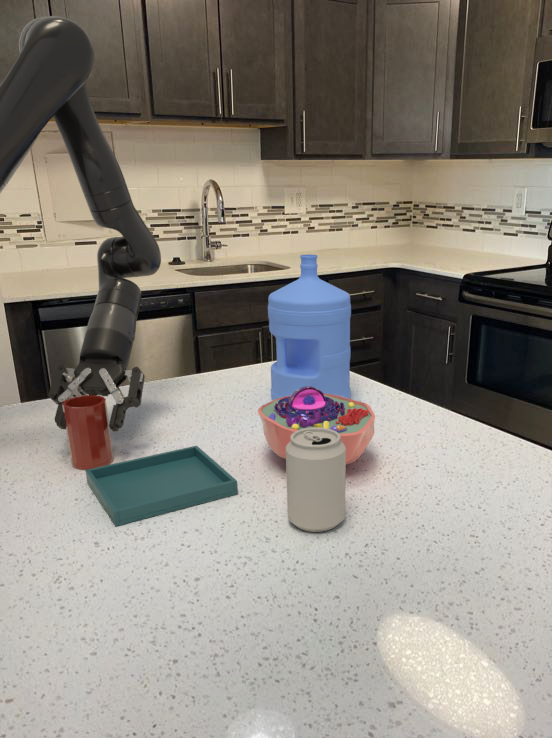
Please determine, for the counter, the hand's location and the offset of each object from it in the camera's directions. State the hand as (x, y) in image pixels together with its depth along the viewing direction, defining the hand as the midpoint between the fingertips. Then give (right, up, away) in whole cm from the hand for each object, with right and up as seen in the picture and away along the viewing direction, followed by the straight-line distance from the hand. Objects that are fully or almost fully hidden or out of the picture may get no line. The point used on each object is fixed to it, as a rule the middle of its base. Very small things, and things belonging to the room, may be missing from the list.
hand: (87, 428), depth 102 cm
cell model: (+36, -5, +2) cm, 36 cm away
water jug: (+34, +5, +29) cm, 45 cm away
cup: (0, -5, +2) cm, 6 cm away
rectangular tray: (+13, -9, -7) cm, 17 cm away
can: (+35, -12, -16) cm, 41 cm away
